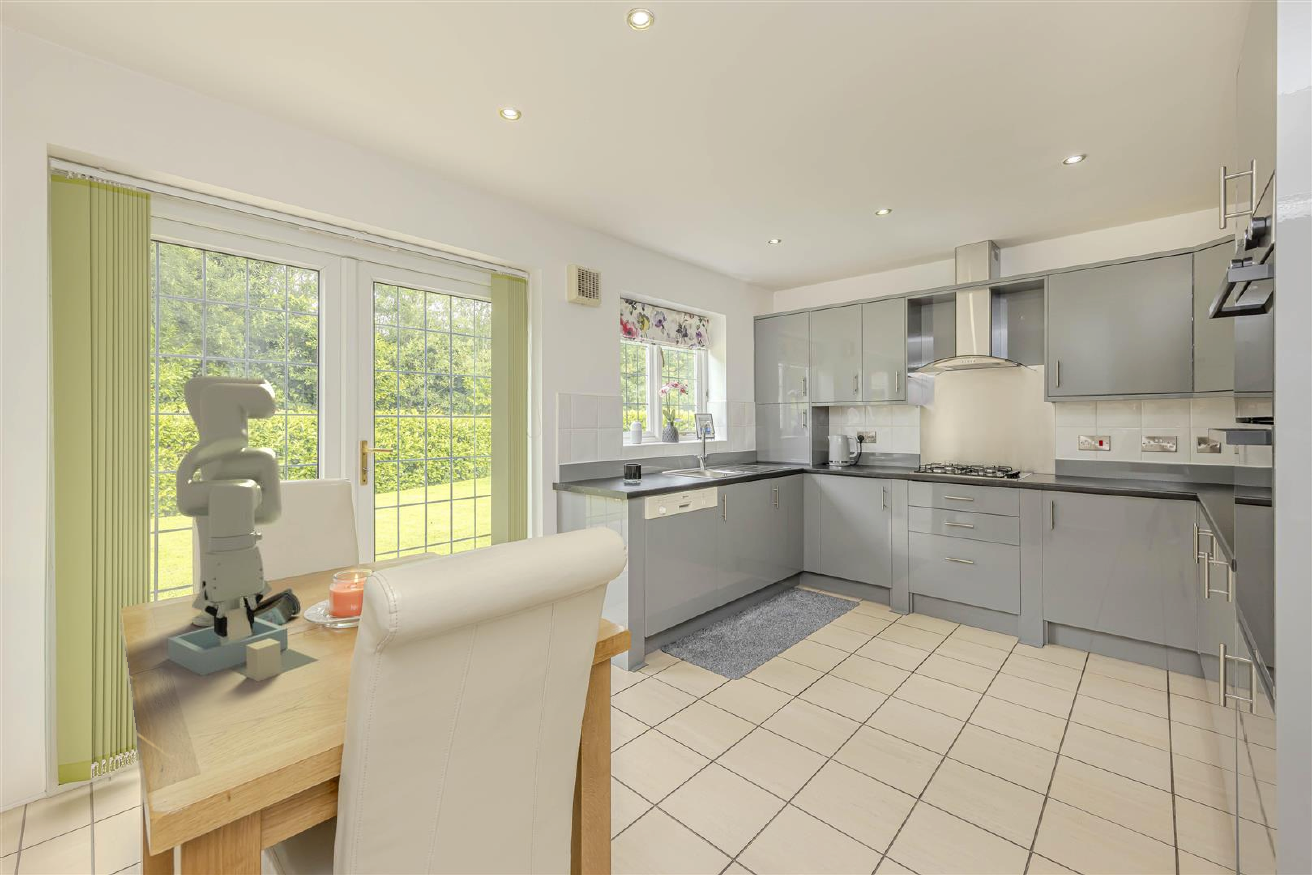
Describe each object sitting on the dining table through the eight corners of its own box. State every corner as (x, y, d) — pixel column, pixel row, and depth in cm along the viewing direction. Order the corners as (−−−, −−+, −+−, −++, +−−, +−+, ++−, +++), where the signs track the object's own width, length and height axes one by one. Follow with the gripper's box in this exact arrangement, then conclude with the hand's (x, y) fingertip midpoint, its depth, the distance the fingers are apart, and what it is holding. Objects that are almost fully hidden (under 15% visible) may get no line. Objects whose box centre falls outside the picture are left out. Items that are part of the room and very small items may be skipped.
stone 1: (221, 645, 115) (215, 617, 116) (243, 639, 118) (237, 611, 120) (229, 641, 113) (223, 612, 114) (252, 635, 117) (245, 606, 118)
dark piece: (229, 630, 132) (263, 596, 131) (243, 611, 139) (276, 579, 138) (266, 651, 136) (300, 619, 135) (278, 632, 142) (311, 601, 141)
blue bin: (168, 659, 115) (167, 638, 115) (252, 635, 128) (251, 615, 128) (202, 677, 107) (201, 653, 107) (287, 649, 121) (287, 628, 120)
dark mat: (229, 669, 111) (229, 668, 111) (289, 650, 120) (289, 648, 120) (257, 683, 105) (257, 681, 105) (318, 661, 114) (318, 659, 114)
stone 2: (246, 676, 107) (246, 645, 107) (270, 668, 110) (269, 638, 110) (257, 681, 105) (256, 649, 105) (280, 673, 108) (280, 642, 108)
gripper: (267, 534, 125) (269, 617, 125) (174, 549, 111) (176, 642, 111) (285, 537, 121) (287, 622, 121) (191, 552, 107) (193, 649, 107)
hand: (234, 630), depth 116 cm, fingers closed on stone 1, 3 cm apart
